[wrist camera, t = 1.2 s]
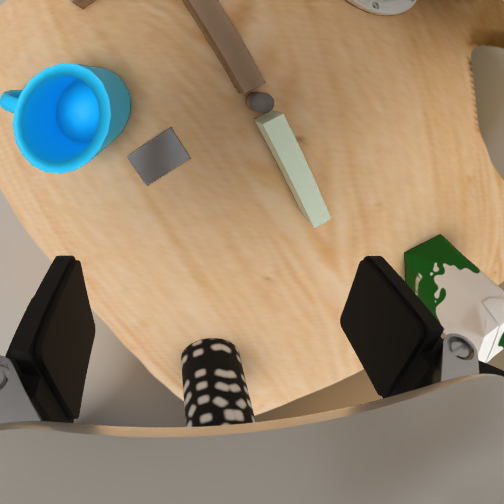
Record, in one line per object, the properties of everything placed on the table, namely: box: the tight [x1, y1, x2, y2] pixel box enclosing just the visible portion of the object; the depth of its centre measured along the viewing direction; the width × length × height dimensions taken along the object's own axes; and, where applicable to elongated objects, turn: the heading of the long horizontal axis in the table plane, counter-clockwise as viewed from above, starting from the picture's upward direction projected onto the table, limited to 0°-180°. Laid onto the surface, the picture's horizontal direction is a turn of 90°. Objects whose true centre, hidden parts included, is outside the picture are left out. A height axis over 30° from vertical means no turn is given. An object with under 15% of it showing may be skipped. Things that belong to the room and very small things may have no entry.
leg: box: [254, 110, 331, 228], centre depth 29 cm, size 12×2×4 cm, turn 28°
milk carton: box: [404, 234, 504, 363], centre depth 34 cm, size 9×9×20 cm
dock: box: [71, 0, 274, 186], centre depth 22 cm, size 14×21×4 cm, turn 28°
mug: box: [0, 64, 131, 174], centre depth 20 cm, size 12×8×8 cm
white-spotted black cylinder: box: [181, 339, 255, 427], centre depth 35 cm, size 8×8×20 cm
